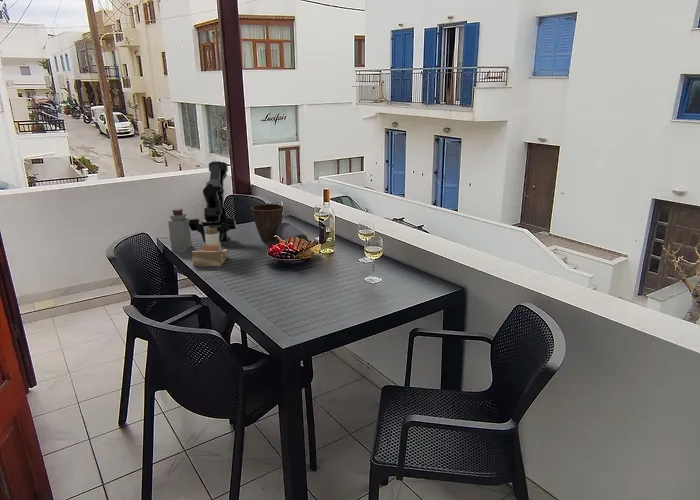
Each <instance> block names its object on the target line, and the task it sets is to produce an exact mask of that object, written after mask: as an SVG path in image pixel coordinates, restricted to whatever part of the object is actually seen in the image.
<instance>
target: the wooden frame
mask: <svg viewBox="0 0 700 500" xmlns="http://www.w3.org/2000/svg"><path fill="white" fill-rule="evenodd" d="M191 254H192V255H191V257H192V265H193V267H222V265H223V264H224V263H225V262H226V261H227V259H228V258H229V250H228V249H227V248H225V249H223V250H221V253H220V251H201V250H192V251H191Z"/></svg>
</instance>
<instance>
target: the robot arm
mask: <svg viewBox="0 0 700 500" xmlns="http://www.w3.org/2000/svg"><path fill="white" fill-rule="evenodd" d="M228 167H229V166H228V163H227V162H224V161H219V160H215V161H214V160H213V161H210V162H209V163H208V171H209V172H210V175H209V181H207V182H206V184H205V187H204V188H203V189H202V195H203V198H204V201H205V203H206V207H204V208H203V209H204V210H203V212H204V213H203V214H204V220H205V221H202V220H200V219H199V218H189V226H190V231H193V232H197V233H200V234H201V238H202V240H203V243H205V234H204V233H205V232H206V229H205V228H204V227H210V226H215V227H217V231H218V232H219V234H220V237H219V241H220V243H221V242H227V241H229V239H230V238H231V237H230V236H228V232H229V231H230V230H235V229H237V224H236V219H235V218H234V217H229V215H228V213H227V211H226V208H225V207H224V206H225V204H224V199H225V198H224V196H225V195H224V194H225V189H224V181H225V179H226V178H227V175H228V174H227V172H228V171H229V168H228Z"/></svg>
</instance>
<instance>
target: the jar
mask: <svg viewBox="0 0 700 500" xmlns="http://www.w3.org/2000/svg"><path fill="white" fill-rule="evenodd" d="M204 234H205V242H204V245H219V249H220V253H221V252H222V248H221V242H220V241H219V237H220V234H219V232H218V231H217V227H215V226H205V233H204Z"/></svg>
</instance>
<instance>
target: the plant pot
mask: <svg viewBox="0 0 700 500" xmlns="http://www.w3.org/2000/svg"><path fill="white" fill-rule="evenodd" d="M251 212H252V216H253V220H254V224H255V227H256V230H257V233H258V236H259V237H260V239H261V241H262V242H275V241H277V240H276V238H275V237H274V236H275V235H276V228H277V226H278V225H279V224H280V223H283V217H284V205H282V204H276V203H264V204H263V203H262V204H257V205H253V206H252V207H251Z"/></svg>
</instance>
